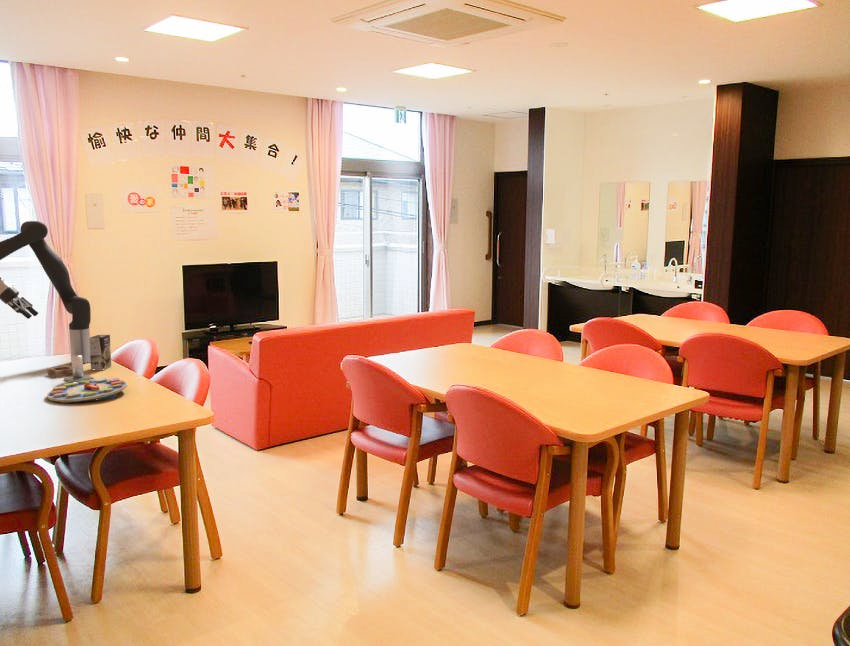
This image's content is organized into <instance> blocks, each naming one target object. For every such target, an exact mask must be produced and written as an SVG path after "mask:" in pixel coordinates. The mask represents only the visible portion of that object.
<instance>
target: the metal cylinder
mask: <svg viewBox="0 0 850 646" xmlns="http://www.w3.org/2000/svg"><path fill="white" fill-rule="evenodd" d="M71 360H72V363H71V367H72V373H73V375H72V377H73V379H80V378H84V375H85V372H84V363H83V359H82V355H74V356H71V355H70V361H71Z"/></svg>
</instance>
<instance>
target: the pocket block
mask: <svg viewBox="0 0 850 646" xmlns="http://www.w3.org/2000/svg"><path fill="white" fill-rule="evenodd" d="M46 371H47V376H49V375H50V377H53V376H54V377H53V378H56V377H59V378H64V377H63V376H65V377H69V376H68V375H71V376H73V373H72V366H70V365H64V366H57V367H50V368H49V367H48V368H47V370H46Z"/></svg>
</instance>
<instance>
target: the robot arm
mask: <svg viewBox="0 0 850 646" xmlns="http://www.w3.org/2000/svg"><path fill="white" fill-rule="evenodd" d="M19 229H20V233H17V234H16V235H14V236H11V237H9V238H7V239H4V240H2V241H0V261H2V260H3V259H5V258H6V257H8V256H9V255H11V254H13V253H15V252H17V251H18V250H21V249H22V248H24V247H26V246H29V247H30V248H31V250H32V252H33V253H34V254H35V256H36V258H37V260H38V262H39V263H40V266H41V267H42V268H43V271H44V272H45V274H46V276H47V277H48V279H49V280H50V282H51V284H52V286H53V287H54V288H55V290H56V292H57V293H58V296H59V298H60V299H61V302H62V304H63V307H64V308H65V310H66V312H67V313H68V314H70V315H71V317H72V320H71V321H70V322H69V324H68V329H69V333H68V334H69V346H70V347H69V348H70V357H71V356H74V355H82V359H83V364H88V363H91V360H90V339H89V338H90V337H91V335H90V324H91V320H92V319H91V318H92V316H91V312H92V311H91V304H90V302H89V300H88V299H87V298H85V297H80V296H79V295H77V293H76V291H75V290H74V288H73V286H72V284H71V279H70V274H69V271H68V269H67V267H66V264H65V263H64V262H63V260H62V259H61V257H60V256H59V255H58V254H57V253H56V252H55V251H54V250H53V249H52V248H51V247H50V246H49V245H48V244H47V242H46V240H45V238H46V237H47V235H48V233H49V232H48V231H49V230H48V227H47V224H45V223H43V222H41V221H39V220H29V221H25V222H23V223H22V224H21V225H20V228H19ZM19 295H20V291H18V290H17V289H16V288H14V287H13V285H11V284H10V282H8V281H6V280H5V279H3V278H2V277H0V301H1V302H3V303H4V304H5V305H8V306H9V307H10V308H11V309H12V310H13V311H14V312H16V313H17V314H21V315H22V316H24V317H25V318H26V319H27V320H29V319H31V318H32V316H33V317H37V316H38V315H39V312H38V311H37V310H36V309H35V308H34V307H33V304H32V303H31V302H30V301H29V300H27V299H26V298H25V297H23V296H21V297H19ZM70 362H71V364H72V360H71V359H70ZM87 362H88V363H87Z"/></svg>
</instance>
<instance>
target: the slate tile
mask: <svg viewBox="0 0 850 646" xmlns="http://www.w3.org/2000/svg"><path fill="white" fill-rule="evenodd" d="M90 379H95V378H94V376H93V377H92V376H89V375H87V374H84V378H80V379H73V376H66V377H63V380H64V381H66V380H67V381H66V382H69V381H70V382H69V383H72V382H79V381H83V380H90Z"/></svg>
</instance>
